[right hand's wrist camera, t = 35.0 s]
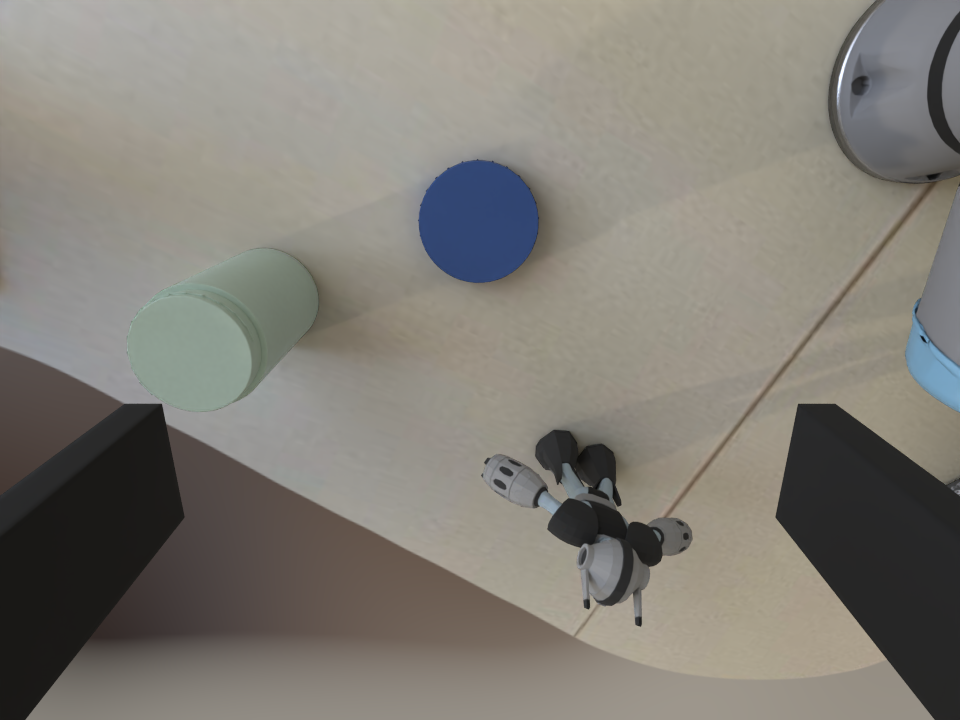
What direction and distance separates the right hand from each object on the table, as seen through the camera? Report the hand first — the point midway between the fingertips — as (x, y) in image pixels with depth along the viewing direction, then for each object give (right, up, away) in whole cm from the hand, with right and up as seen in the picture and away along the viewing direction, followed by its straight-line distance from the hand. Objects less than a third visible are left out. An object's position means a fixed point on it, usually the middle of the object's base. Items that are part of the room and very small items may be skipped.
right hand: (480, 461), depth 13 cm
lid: (0, +13, +37) cm, 39 cm away
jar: (-19, +8, +40) cm, 45 cm away
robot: (+9, -7, +46) cm, 47 cm away
